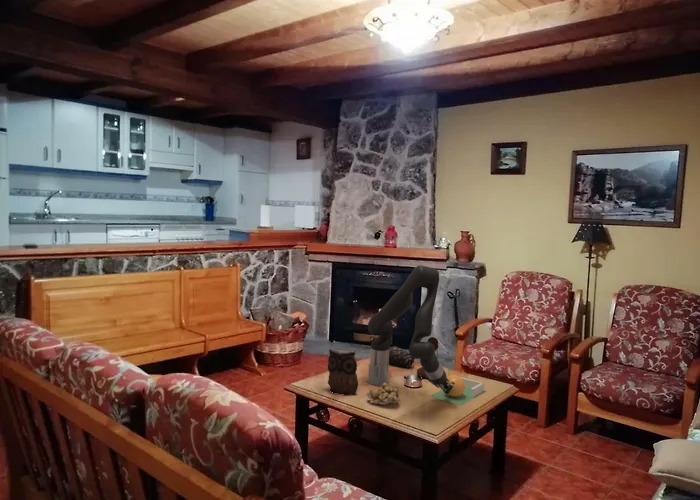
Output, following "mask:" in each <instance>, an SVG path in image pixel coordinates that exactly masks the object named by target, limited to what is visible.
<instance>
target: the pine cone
mask: <svg viewBox="0 0 700 500" xmlns="http://www.w3.org/2000/svg"><path fill="white" fill-rule="evenodd" d="M414 363H415V359H414V358H412V357H411V356H410V353H409V351H408V352H407V351H406V350H405V349H403V348H401V347H398V346H396V345H395V346H390V350H389V366H391V367H392V366H393V367H396V368H399V369H404V370H412V367H411V366H412V365H413V364H414Z"/></svg>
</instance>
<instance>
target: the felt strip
mask: <svg viewBox="0 0 700 500" xmlns="http://www.w3.org/2000/svg"><path fill="white" fill-rule="evenodd" d="M486 392H487V390H484V392H482V393H480V394H478V395H477V396H475V397H473V398H472V397H470V395H471V389H470V388H467V387H465V390H464V392H463V394H462V395H460V396H458V397H451V396H449V395H447V394H445V393H444V391H443V390H442V389H440V391H436V392H434V393H432V394H431V395H429V397H431V398H435V399H439V400H441V401H444V402H448V403H451V404H454V405H458V406H459V407H460V406H463V405H465V404H467V403H468V402H470V401H472V400H474V399H476V398H477V397H479V396H481V395H483V394H484V393H486Z"/></svg>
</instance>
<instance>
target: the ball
mask: <svg viewBox="0 0 700 500" xmlns="http://www.w3.org/2000/svg"><path fill="white" fill-rule="evenodd" d="M446 377H447V379H448V380H449V382H450V383H452V382H454V383H455V384H454V386H453V388H452V389H451V390H450V392H449V394H447V395H449V396H451V397H458V396H460V395H462V394H463V392H464V390H465V383H464V381H463V379H462V378H461V377H462V376H459V375H457V374H450V375H448V376H446ZM448 386H449V385H448Z"/></svg>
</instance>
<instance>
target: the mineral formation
mask: <svg viewBox="0 0 700 500" xmlns="http://www.w3.org/2000/svg"><path fill="white" fill-rule="evenodd" d="M366 397H367V398H368V399H370V402H369V403H370V404H379V405H382V406H384V407H386V406H388V405H389V404H390V403H393V404H396V403H399V402H401V397H400V392H399V390H398V389H397V388H395V387H394V388H392V387H391V386H390V385H389V384H387V383H383V384H382V385H381V386H380V387H378V388H377V389H376V388H369V389H368V392H367V393H366Z"/></svg>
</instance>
